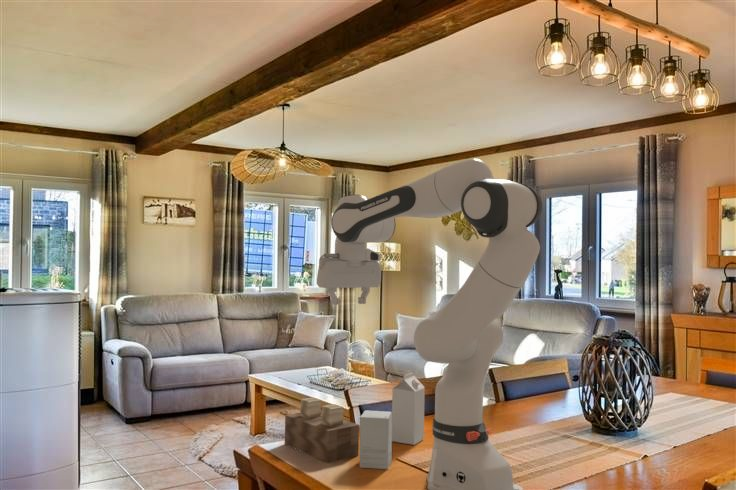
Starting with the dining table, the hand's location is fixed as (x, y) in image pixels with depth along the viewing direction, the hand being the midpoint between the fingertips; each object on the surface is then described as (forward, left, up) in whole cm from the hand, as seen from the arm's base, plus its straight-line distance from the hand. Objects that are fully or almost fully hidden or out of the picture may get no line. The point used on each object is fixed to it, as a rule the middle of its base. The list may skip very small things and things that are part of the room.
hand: (348, 304), depth 169 cm
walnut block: (+3, +6, -39) cm, 40 cm away
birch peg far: (+8, +6, -35) cm, 36 cm away
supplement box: (-15, +2, -39) cm, 42 cm away
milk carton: (-5, -19, -39) cm, 44 cm away
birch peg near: (-2, +6, -35) cm, 35 cm away
